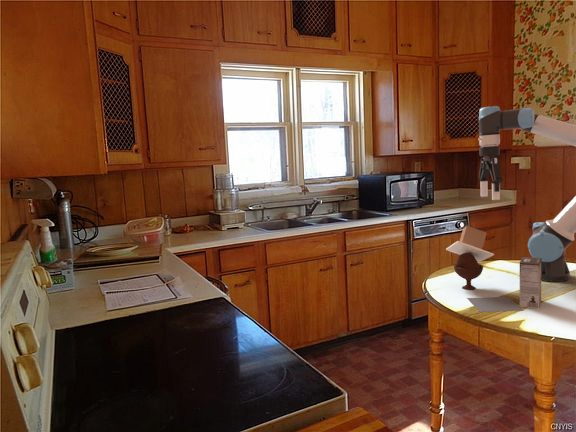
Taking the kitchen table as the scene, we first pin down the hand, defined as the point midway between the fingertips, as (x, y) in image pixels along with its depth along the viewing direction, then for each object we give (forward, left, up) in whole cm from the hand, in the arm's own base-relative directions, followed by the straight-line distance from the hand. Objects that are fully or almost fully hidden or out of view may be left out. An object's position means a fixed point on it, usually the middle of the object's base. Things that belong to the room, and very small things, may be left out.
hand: (489, 198), depth 179 cm
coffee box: (-3, +31, -35) cm, 47 cm away
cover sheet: (+12, +11, -20) cm, 25 cm away
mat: (+9, +30, -35) cm, 47 cm away
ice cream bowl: (+12, +11, -35) cm, 38 cm away
